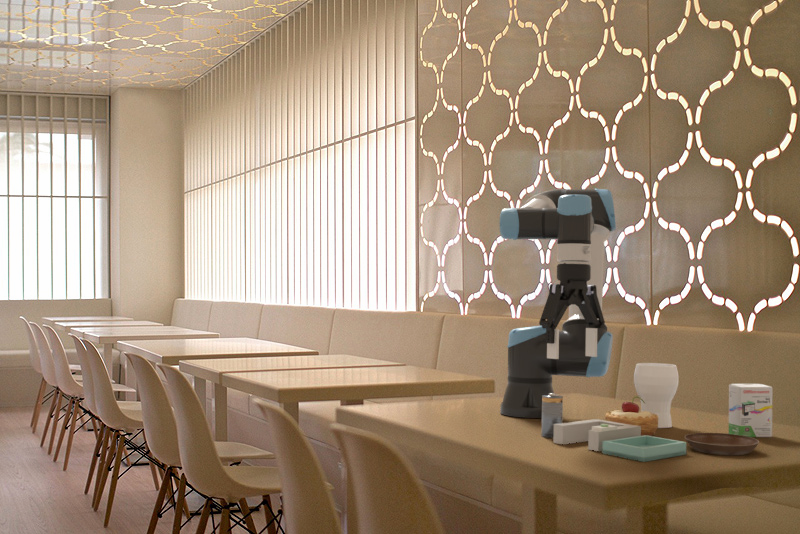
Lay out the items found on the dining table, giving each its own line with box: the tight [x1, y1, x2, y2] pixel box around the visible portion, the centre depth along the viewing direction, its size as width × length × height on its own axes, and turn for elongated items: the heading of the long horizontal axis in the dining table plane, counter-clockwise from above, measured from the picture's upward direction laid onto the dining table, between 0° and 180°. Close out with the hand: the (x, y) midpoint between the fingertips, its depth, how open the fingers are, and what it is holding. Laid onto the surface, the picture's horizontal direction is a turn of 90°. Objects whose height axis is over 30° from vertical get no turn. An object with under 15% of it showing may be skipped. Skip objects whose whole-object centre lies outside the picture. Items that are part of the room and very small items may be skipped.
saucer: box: [684, 432, 760, 456], centre depth 188 cm, size 15×15×3 cm
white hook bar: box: [552, 418, 641, 452], centre depth 192 cm, size 12×14×5 cm
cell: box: [541, 392, 564, 439], centre depth 201 cm, size 5×5×10 cm
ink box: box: [728, 383, 774, 438], centre depth 207 cm, size 8×5×12 cm, turn 101°
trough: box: [601, 435, 687, 463], centre depth 181 cm, size 10×14×2 cm
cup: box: [633, 362, 680, 429], centre depth 220 cm, size 11×11×15 cm
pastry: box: [604, 395, 659, 437], centre depth 206 cm, size 12×12×9 cm
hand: (572, 357), depth 202 cm, fingers open, 13 cm apart
